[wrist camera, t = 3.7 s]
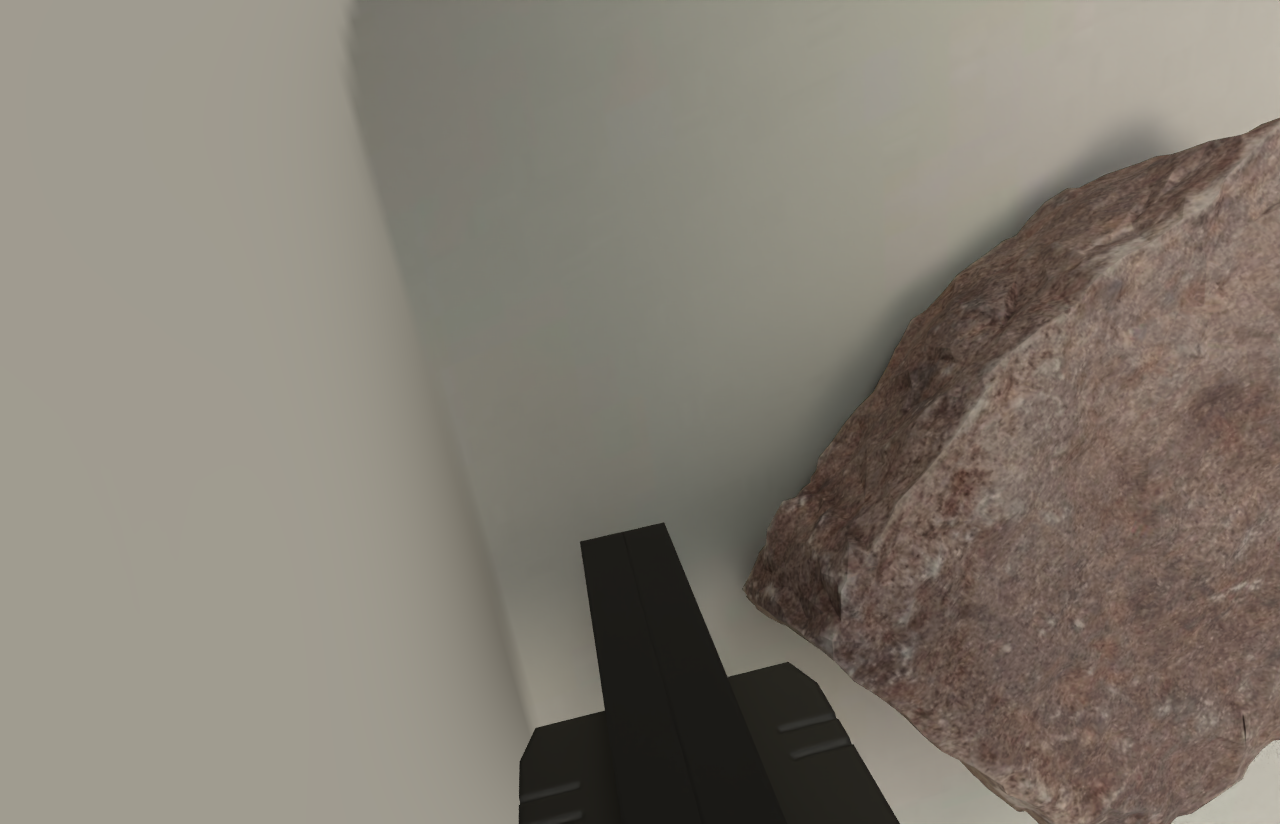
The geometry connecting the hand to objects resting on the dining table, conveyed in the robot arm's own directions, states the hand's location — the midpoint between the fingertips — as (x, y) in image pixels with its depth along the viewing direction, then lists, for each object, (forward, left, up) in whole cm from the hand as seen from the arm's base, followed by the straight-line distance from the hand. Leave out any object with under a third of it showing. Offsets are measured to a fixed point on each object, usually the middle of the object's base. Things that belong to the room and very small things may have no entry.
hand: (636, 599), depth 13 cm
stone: (0, +8, -2) cm, 9 cm away
